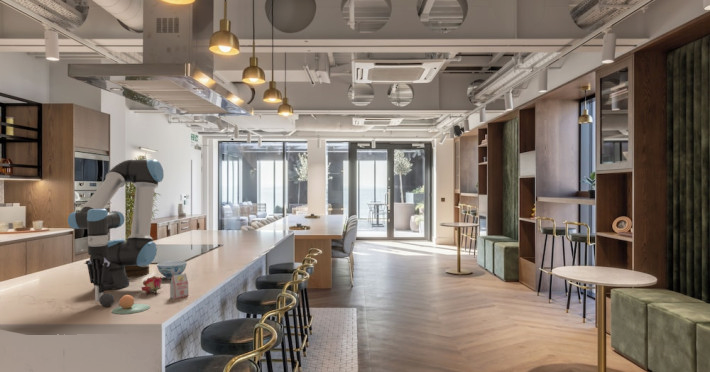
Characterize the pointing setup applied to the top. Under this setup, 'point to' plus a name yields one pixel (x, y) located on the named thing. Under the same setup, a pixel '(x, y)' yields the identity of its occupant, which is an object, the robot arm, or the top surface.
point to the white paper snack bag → (179, 286)
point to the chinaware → (171, 268)
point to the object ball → (126, 301)
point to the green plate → (131, 309)
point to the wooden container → (136, 270)
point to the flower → (152, 284)
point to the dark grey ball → (106, 299)
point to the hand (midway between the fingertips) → (99, 300)
